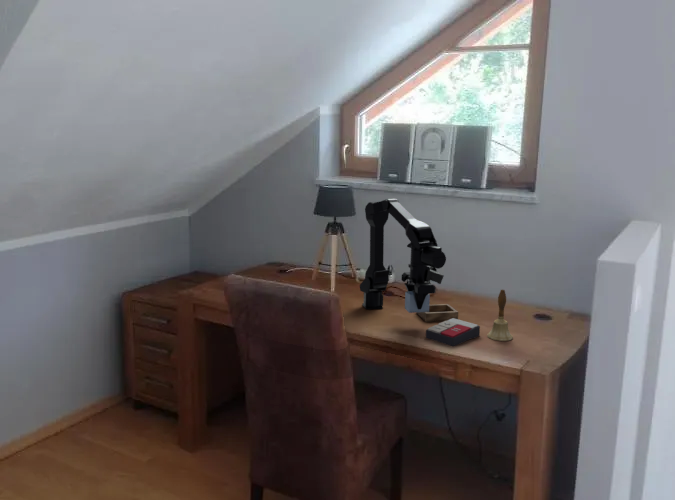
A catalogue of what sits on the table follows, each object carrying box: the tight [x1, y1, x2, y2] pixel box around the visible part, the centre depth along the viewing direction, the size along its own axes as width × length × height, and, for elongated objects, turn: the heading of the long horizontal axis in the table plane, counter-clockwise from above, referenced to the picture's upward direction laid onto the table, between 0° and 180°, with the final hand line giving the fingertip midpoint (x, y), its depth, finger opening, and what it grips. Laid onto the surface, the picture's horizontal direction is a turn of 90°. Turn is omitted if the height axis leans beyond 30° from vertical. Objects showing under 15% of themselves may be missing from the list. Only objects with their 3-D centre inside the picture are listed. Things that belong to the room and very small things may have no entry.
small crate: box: [404, 291, 431, 314], centre depth 225 cm, size 7×5×6 cm
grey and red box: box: [425, 318, 481, 347], centre depth 217 cm, size 11×4×15 cm
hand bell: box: [486, 289, 514, 342], centre depth 216 cm, size 8×8×16 cm
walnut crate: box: [416, 303, 459, 323], centre depth 238 cm, size 12×10×3 cm
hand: (416, 307), depth 226 cm, fingers closed on small crate, 5 cm apart
